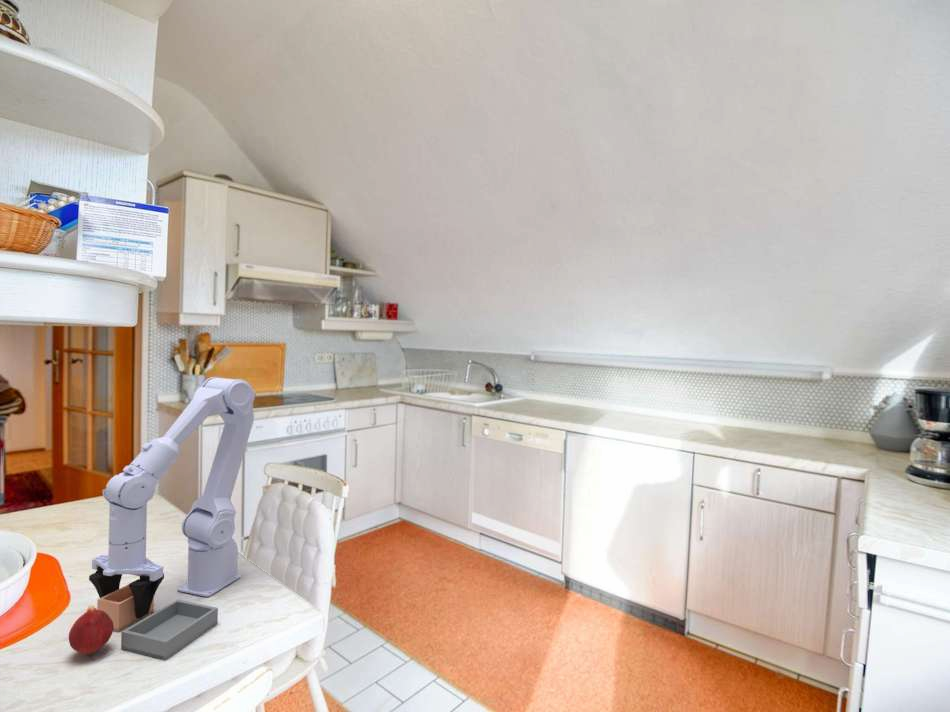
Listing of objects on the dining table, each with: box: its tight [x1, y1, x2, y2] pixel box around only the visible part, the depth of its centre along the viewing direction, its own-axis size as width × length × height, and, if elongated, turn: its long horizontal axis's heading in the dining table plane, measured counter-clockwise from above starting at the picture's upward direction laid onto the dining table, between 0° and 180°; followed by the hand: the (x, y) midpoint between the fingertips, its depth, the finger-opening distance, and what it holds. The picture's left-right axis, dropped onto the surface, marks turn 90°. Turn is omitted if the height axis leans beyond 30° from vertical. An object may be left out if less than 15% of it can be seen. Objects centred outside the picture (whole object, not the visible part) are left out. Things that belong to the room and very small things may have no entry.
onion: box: [67, 605, 114, 656], centre depth 82 cm, size 6×6×8 cm
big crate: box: [120, 599, 219, 661], centre depth 88 cm, size 11×9×3 cm
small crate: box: [96, 583, 155, 633], centre depth 93 cm, size 7×5×5 cm
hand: (126, 611), depth 93 cm, fingers open, 7 cm apart
